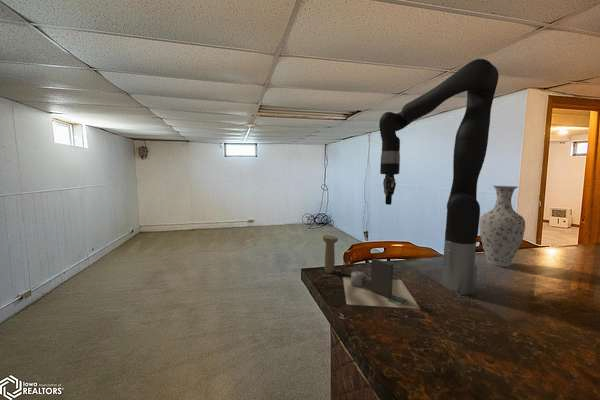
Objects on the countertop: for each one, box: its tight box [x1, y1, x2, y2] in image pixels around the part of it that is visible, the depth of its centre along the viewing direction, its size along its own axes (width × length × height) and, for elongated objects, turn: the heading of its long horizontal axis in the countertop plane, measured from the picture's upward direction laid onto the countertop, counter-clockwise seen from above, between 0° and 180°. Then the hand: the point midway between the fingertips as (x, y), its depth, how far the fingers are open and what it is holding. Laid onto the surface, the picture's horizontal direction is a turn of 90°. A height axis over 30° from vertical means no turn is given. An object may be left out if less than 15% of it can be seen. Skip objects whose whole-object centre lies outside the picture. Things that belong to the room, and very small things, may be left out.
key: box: [350, 258, 403, 302], centre depth 87 cm, size 20×5×10 cm, turn 36°
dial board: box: [342, 276, 421, 310], centre depth 89 cm, size 21×21×1 cm
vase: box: [479, 185, 526, 268], centre depth 118 cm, size 16×16×35 cm
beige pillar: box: [322, 234, 339, 274], centre depth 105 cm, size 5×6×15 cm
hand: (388, 204), depth 112 cm, fingers closed
